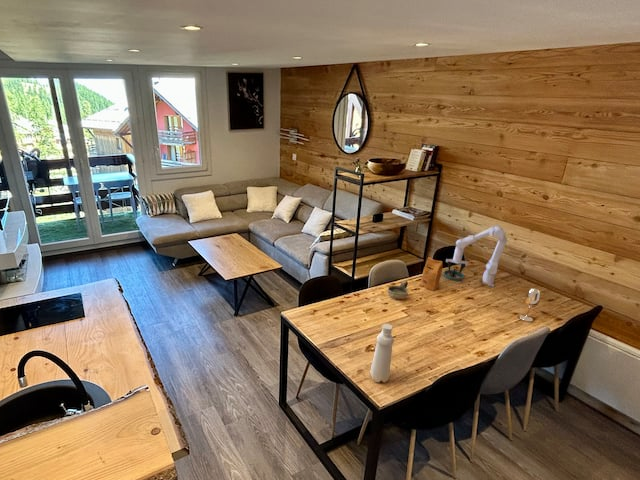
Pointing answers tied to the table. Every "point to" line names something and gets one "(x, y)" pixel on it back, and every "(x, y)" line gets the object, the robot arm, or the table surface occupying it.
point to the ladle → (453, 273)
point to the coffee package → (431, 274)
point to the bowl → (399, 290)
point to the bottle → (382, 355)
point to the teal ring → (454, 274)
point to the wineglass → (531, 302)
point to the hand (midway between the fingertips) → (454, 271)
